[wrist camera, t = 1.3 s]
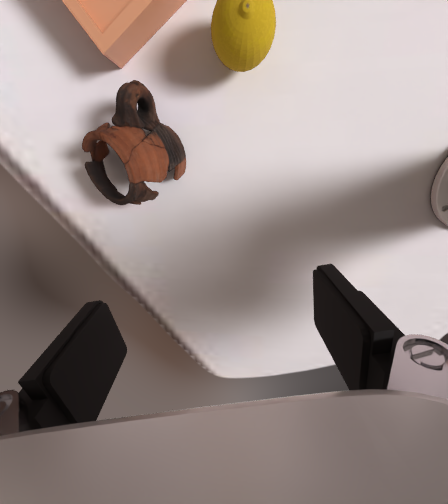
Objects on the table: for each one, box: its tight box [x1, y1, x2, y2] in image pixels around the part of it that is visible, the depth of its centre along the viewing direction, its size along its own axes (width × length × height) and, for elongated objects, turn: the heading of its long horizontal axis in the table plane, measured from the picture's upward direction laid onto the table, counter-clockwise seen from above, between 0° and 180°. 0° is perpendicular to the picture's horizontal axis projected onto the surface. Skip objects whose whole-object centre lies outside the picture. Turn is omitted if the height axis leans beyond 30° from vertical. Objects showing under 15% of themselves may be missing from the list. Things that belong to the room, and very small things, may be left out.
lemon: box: [211, 0, 276, 72], centre depth 21 cm, size 6×6×8 cm
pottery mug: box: [82, 80, 186, 205], centre depth 26 cm, size 12×10×8 cm
